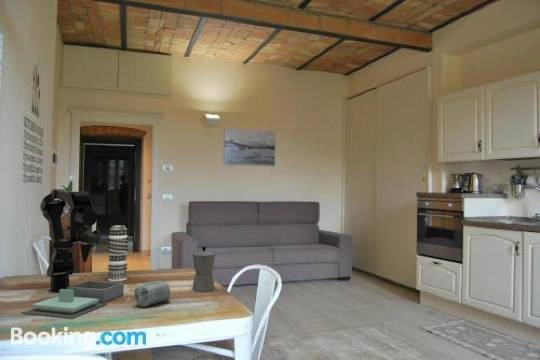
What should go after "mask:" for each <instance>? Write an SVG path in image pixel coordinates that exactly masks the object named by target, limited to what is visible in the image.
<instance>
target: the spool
mask: <svg viewBox="0 0 540 360" xmlns="http://www.w3.org/2000/svg"><path fill="white" fill-rule="evenodd" d="M170 299H171V288H170V285H169V284H168V283H167V282H166V281H164V280H153V281H149V282H146V283H143V284H139V285H138V286H136V288H135V289H134V300H135V302H136V304H137V305H138V307H141V308H146V307H148V306H151V305H155V304H156V305H157V304H160V303H164V302H167V301H169V300H170Z"/></svg>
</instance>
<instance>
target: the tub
mask: <svg viewBox="0 0 540 360" xmlns="http://www.w3.org/2000/svg"><path fill="white" fill-rule="evenodd" d="M124 286H125V285H124V283H123V282H116V281H103V280H102V281H101V280H99V281H98V280H86V281H83V282H79V283H76V284H72V285H69V287H67V290H74V297H83V298H94V299H99V302H97V303H102V304H107V303H109V302H112V301H115V300H117V299H120V298H122V297H124Z"/></svg>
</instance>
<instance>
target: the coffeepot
mask: <svg viewBox="0 0 540 360" xmlns="http://www.w3.org/2000/svg"><path fill="white" fill-rule="evenodd" d="M201 249H202V250H200V251H198V252H195V253H193V254H192V260H193V265H194V266H193V267H194V270H195V274H194V277H193V283H192V288H191V289H192V291H193V292H197V293H208V292H212V291H214V290H215V282H214V275H213V272H212V271H213V269H214V264H215V258H216V257H215V256H216V253H214V252H212V251H206V249H207V247H206V246H202V247H201Z"/></svg>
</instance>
